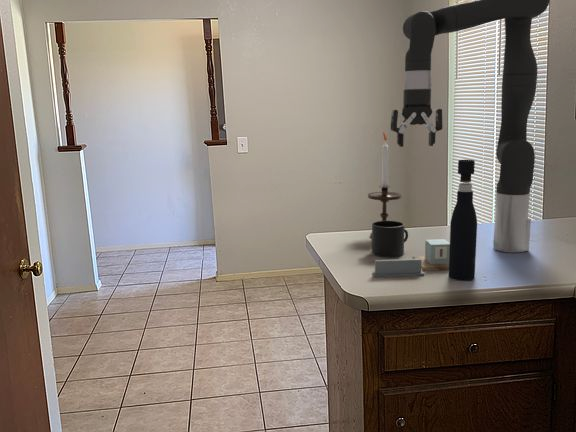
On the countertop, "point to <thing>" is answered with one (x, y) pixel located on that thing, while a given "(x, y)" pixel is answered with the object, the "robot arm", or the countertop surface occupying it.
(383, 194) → the candlestick
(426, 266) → the coaster
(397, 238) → the mug
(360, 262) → the countertop surface
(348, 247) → the countertop surface
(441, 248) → the letter cube
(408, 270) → the grey angle bar
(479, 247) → the countertop surface
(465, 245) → the wine bottle
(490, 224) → the countertop surface
